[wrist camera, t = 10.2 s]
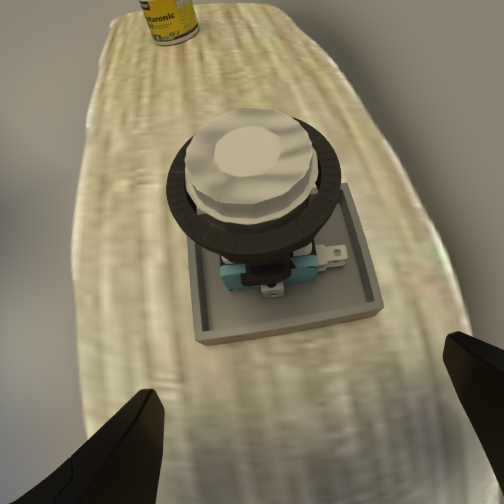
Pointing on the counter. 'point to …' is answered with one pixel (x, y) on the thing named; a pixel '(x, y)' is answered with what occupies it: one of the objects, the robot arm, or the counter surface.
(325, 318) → the tray
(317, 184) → the push button
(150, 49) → the counter surface
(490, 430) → the robot arm
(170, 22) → the supplement bottle
